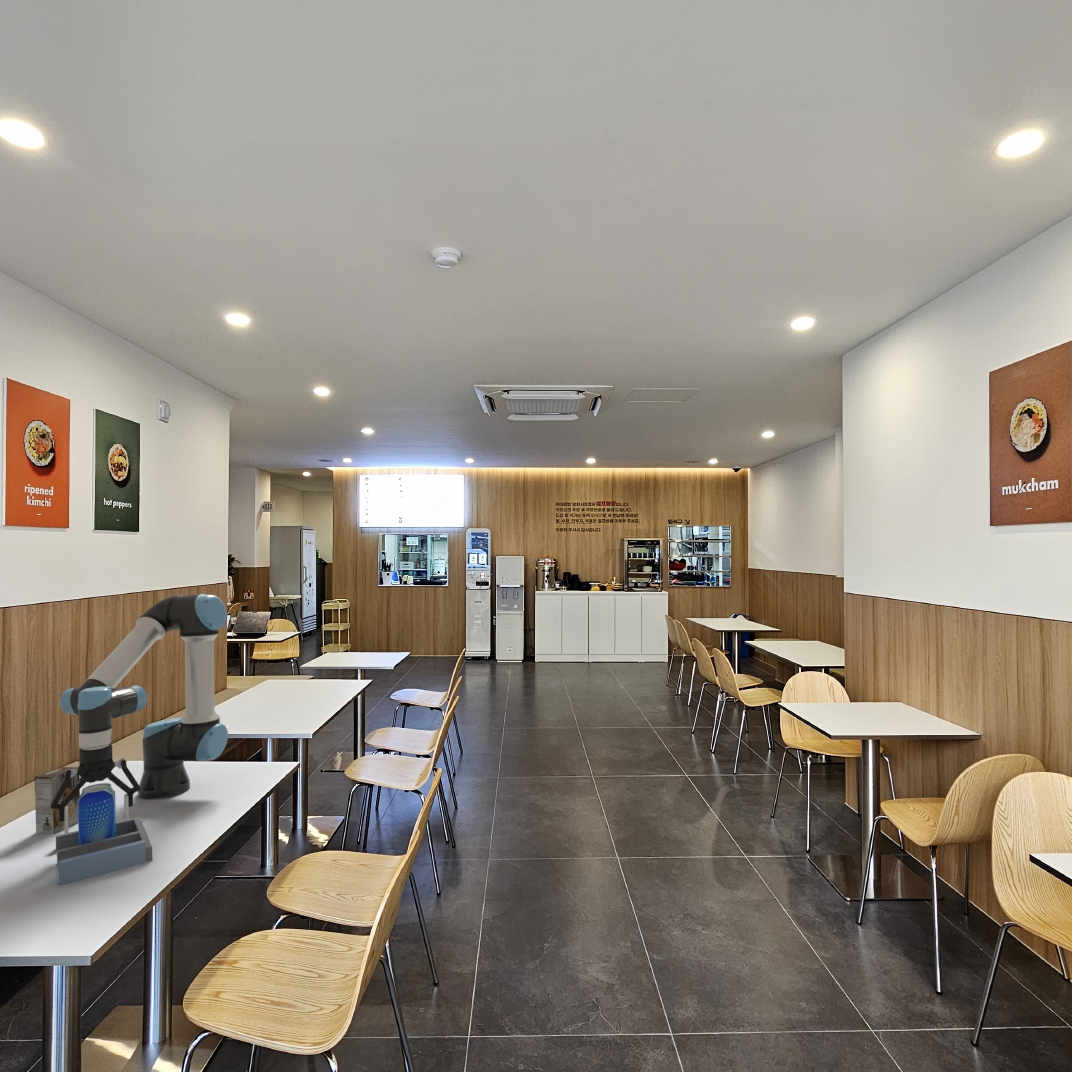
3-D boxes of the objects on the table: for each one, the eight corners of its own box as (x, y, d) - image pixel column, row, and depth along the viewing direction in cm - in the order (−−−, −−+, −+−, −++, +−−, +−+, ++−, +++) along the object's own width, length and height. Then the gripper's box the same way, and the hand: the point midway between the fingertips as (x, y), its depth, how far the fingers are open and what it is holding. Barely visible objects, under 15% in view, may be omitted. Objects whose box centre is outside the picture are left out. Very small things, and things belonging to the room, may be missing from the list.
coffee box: (63, 820, 202) (62, 766, 202) (81, 821, 200) (80, 766, 201) (34, 833, 193) (33, 776, 193) (53, 834, 191) (52, 777, 192)
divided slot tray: (139, 828, 193) (139, 811, 193) (152, 860, 172) (152, 840, 172) (55, 848, 181) (55, 829, 181) (58, 885, 160) (58, 863, 160)
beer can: (76, 857, 175) (75, 795, 176) (81, 845, 183) (80, 785, 183) (114, 849, 179) (113, 788, 180) (117, 838, 187) (116, 779, 187)
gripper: (146, 734, 192) (148, 809, 192) (38, 752, 177) (39, 834, 177) (150, 739, 186) (152, 817, 186) (38, 758, 171) (39, 843, 171)
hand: (97, 825), depth 181 cm, fingers open, 13 cm apart
